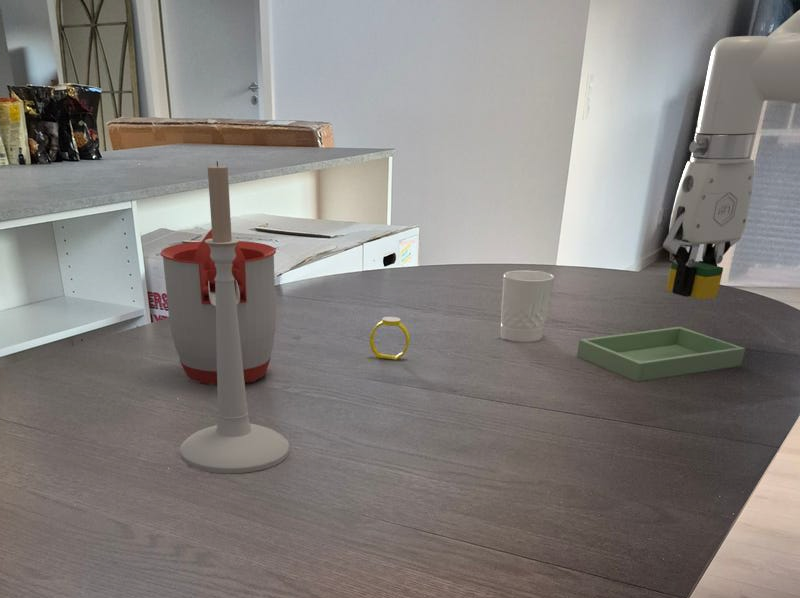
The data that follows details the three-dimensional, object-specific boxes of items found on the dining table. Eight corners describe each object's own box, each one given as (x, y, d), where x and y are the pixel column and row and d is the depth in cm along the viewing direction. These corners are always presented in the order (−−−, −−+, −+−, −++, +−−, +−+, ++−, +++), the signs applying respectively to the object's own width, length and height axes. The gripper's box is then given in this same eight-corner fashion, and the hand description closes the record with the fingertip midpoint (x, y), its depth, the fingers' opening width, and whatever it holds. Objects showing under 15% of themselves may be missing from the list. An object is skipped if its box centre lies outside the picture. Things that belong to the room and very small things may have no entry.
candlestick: (300, 436, 104) (296, 156, 87) (272, 478, 93) (261, 169, 77) (202, 428, 106) (179, 154, 89) (164, 468, 96) (130, 166, 79)
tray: (675, 346, 137) (679, 326, 135) (739, 369, 127) (745, 348, 125) (575, 360, 131) (579, 339, 129) (635, 385, 120) (639, 363, 118)
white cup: (491, 343, 138) (499, 278, 133) (501, 331, 144) (508, 268, 139) (540, 348, 136) (549, 282, 130) (548, 336, 142) (557, 272, 136)
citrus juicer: (173, 398, 116) (157, 239, 104) (172, 362, 130) (157, 218, 118) (287, 392, 118) (283, 235, 106) (273, 357, 132) (268, 215, 120)
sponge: (681, 287, 127) (687, 259, 125) (716, 297, 122) (723, 267, 119) (666, 290, 126) (671, 261, 124) (700, 299, 121) (707, 269, 119)
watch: (367, 359, 131) (369, 319, 127) (371, 354, 133) (372, 315, 130) (406, 362, 130) (408, 322, 126) (409, 357, 132) (411, 317, 129)
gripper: (695, 154, 108) (665, 305, 118) (790, 147, 113) (753, 292, 124) (654, 150, 114) (629, 294, 124) (746, 143, 119) (715, 282, 129)
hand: (691, 292), depth 124 cm, fingers closed on sponge, 3 cm apart
